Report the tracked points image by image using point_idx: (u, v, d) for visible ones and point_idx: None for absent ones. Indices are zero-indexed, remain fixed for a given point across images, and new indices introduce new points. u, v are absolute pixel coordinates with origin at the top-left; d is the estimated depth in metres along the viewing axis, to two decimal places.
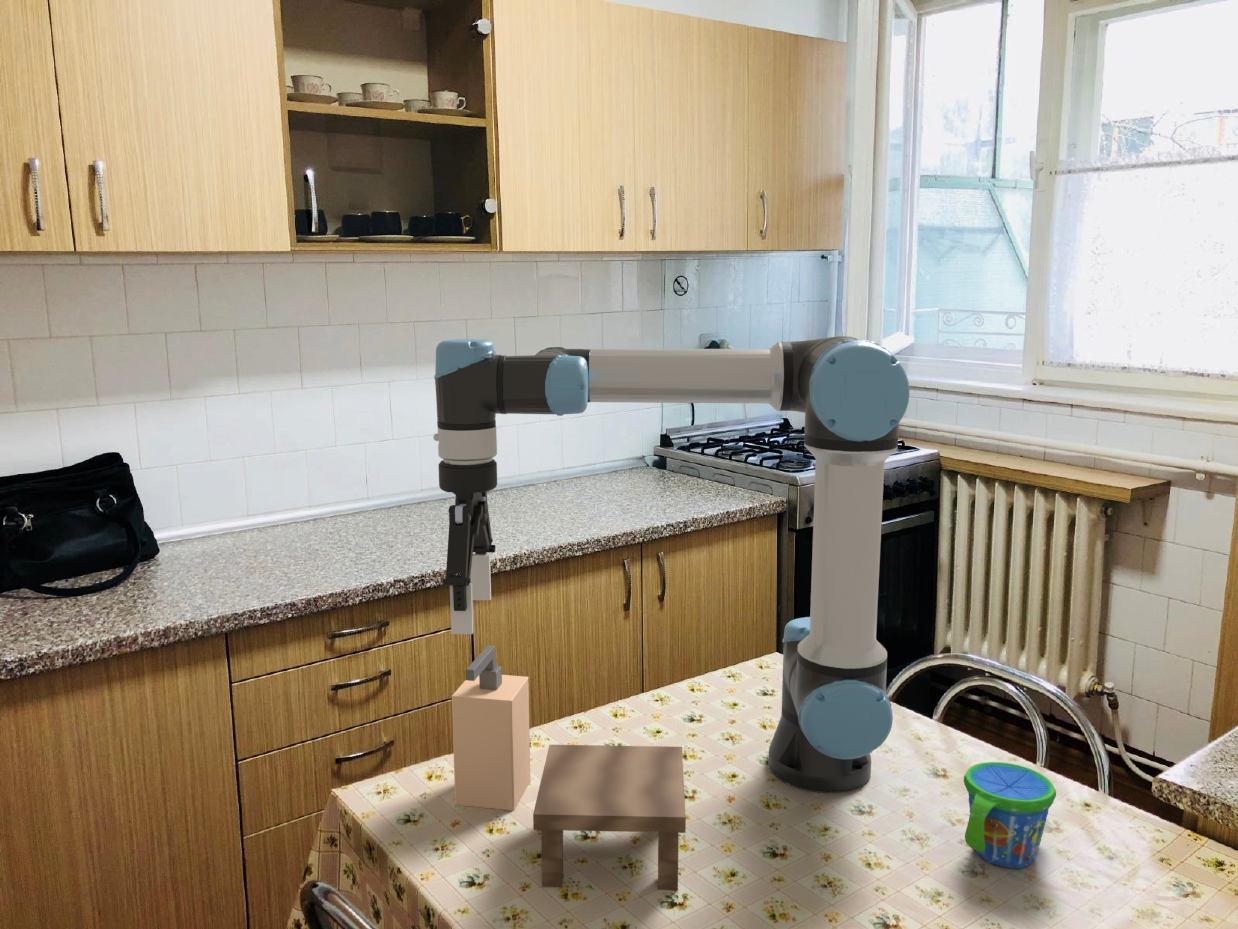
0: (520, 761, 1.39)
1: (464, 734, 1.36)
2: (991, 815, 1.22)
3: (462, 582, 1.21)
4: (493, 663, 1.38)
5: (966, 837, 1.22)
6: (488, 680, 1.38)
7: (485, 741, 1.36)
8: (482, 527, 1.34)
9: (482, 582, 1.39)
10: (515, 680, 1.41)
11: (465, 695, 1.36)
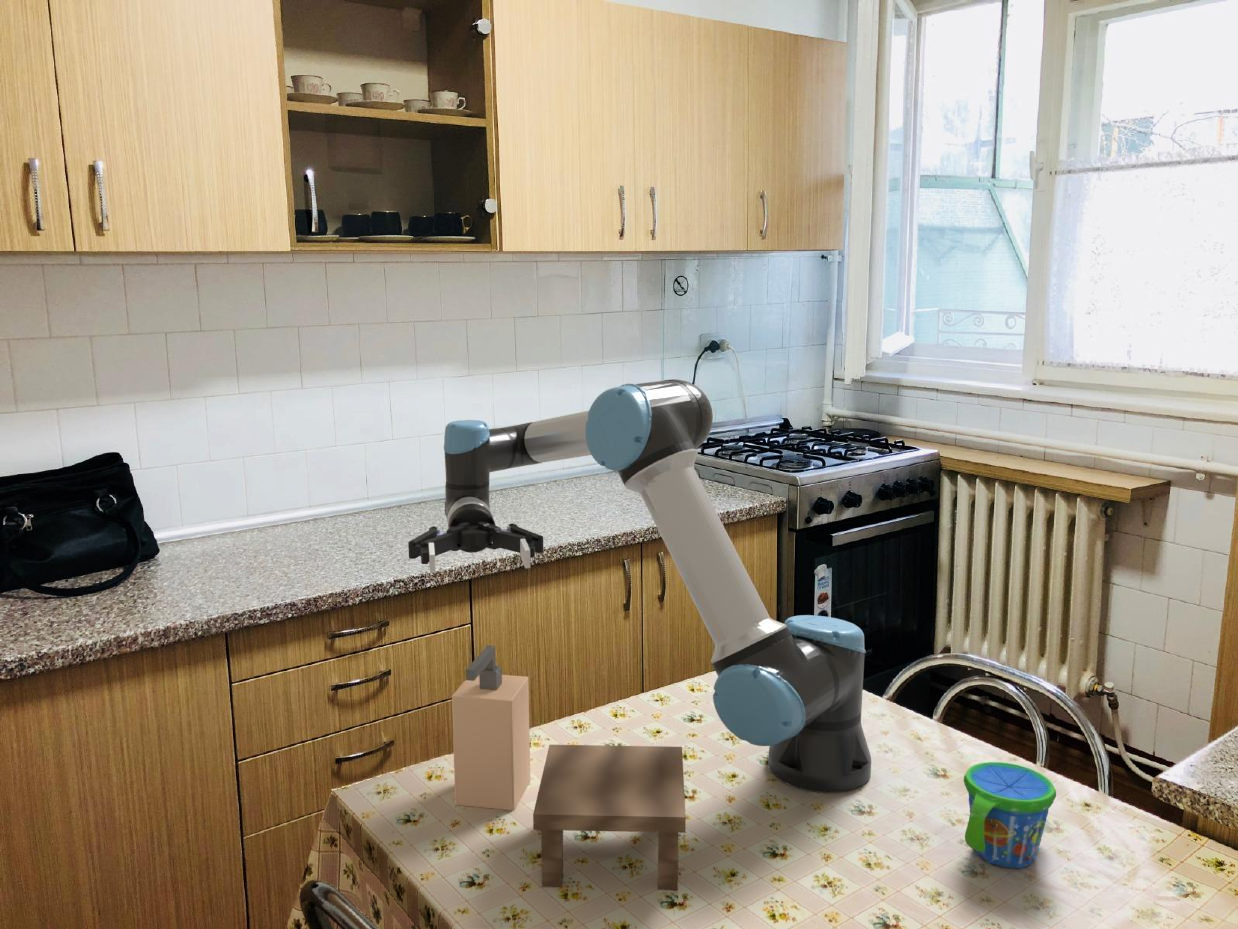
0: (520, 761, 1.39)
1: (464, 734, 1.36)
2: (991, 815, 1.22)
3: (408, 544, 1.48)
4: (493, 663, 1.38)
5: (966, 837, 1.22)
6: (488, 680, 1.38)
7: (485, 741, 1.36)
8: (498, 533, 1.54)
9: (523, 552, 1.46)
10: (515, 680, 1.41)
11: (465, 695, 1.36)
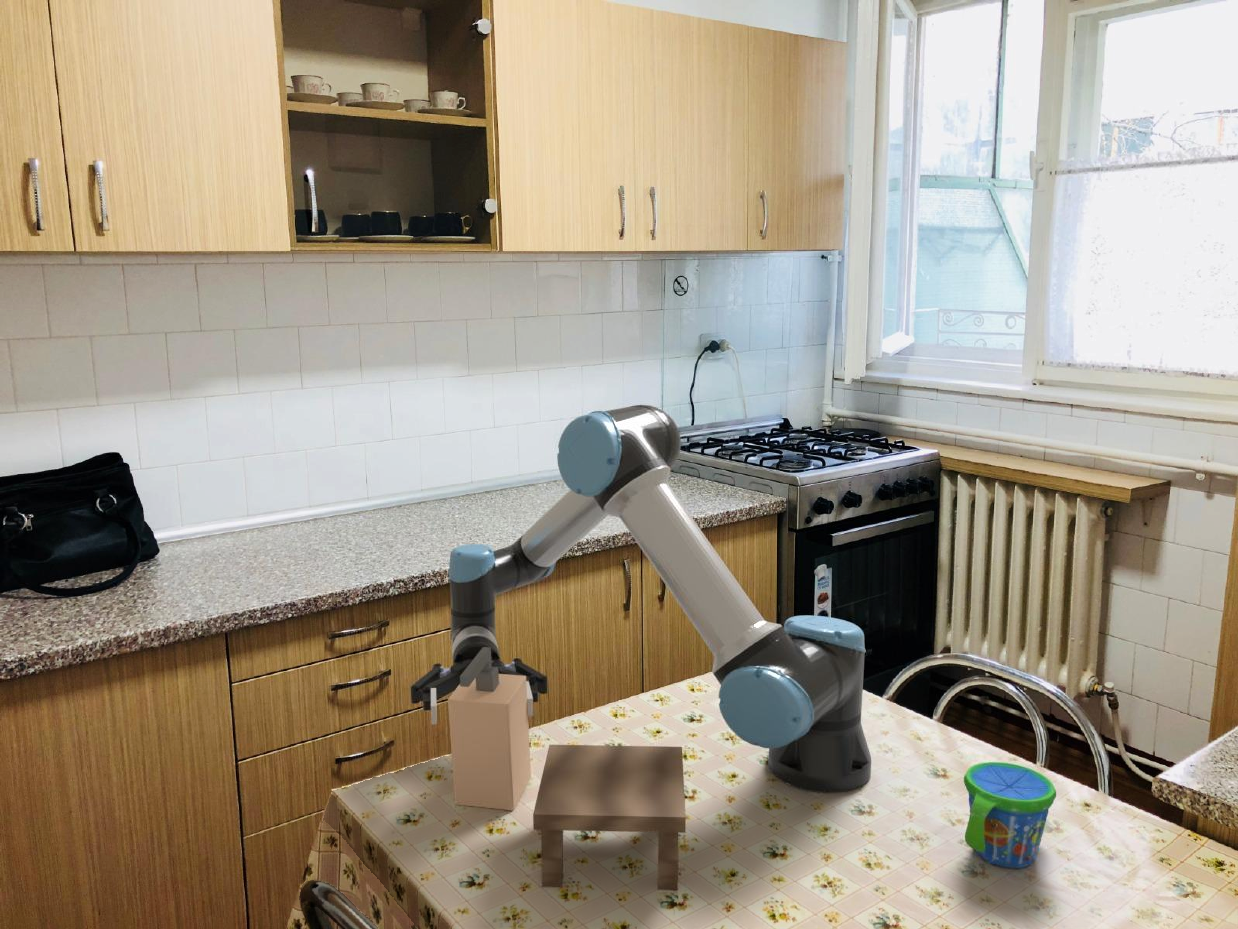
0: (519, 761, 1.39)
1: (461, 737, 1.36)
2: (991, 815, 1.22)
3: (411, 689, 1.46)
4: (489, 665, 1.37)
5: (966, 837, 1.22)
6: (484, 682, 1.36)
7: (482, 743, 1.35)
8: (501, 672, 1.52)
9: None
10: (512, 680, 1.40)
11: (461, 698, 1.35)
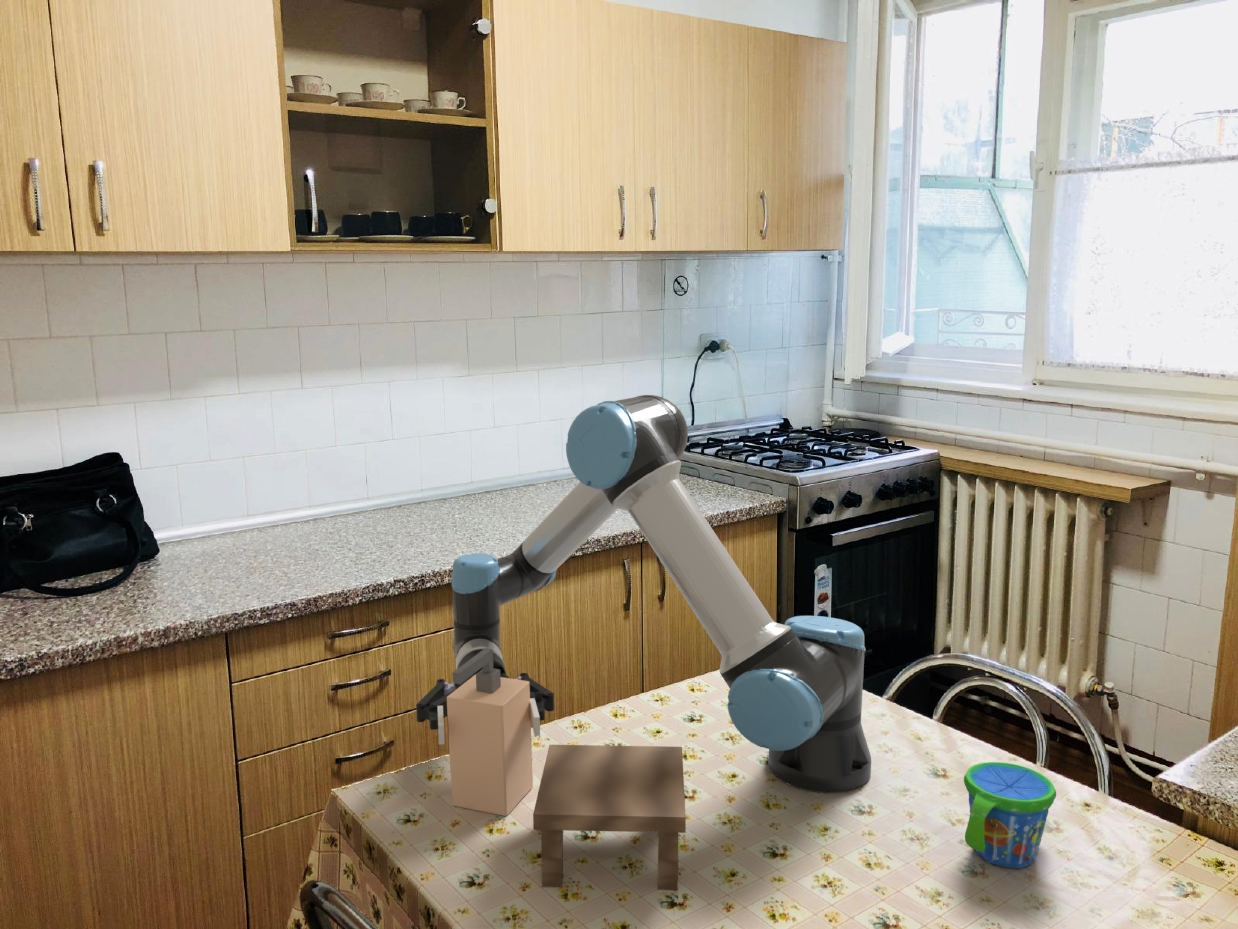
0: (516, 767, 1.38)
1: (458, 736, 1.36)
2: (991, 815, 1.22)
3: (416, 707, 1.40)
4: (490, 666, 1.37)
5: (966, 837, 1.22)
6: (484, 683, 1.36)
7: (478, 745, 1.35)
8: None
9: (532, 716, 1.38)
10: (515, 684, 1.39)
11: (459, 697, 1.35)
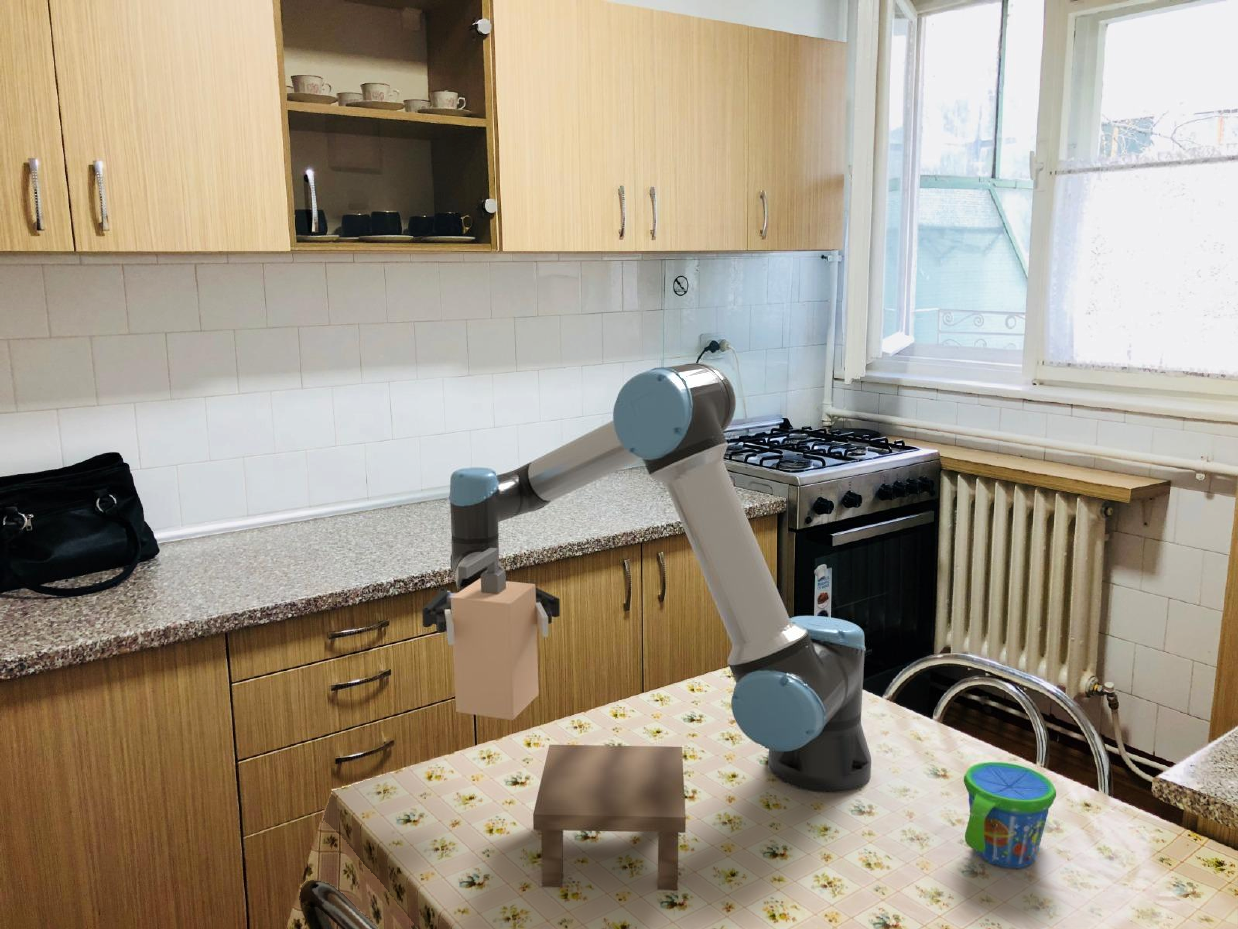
0: (522, 671, 1.33)
1: (463, 638, 1.31)
2: (991, 815, 1.22)
3: (422, 611, 1.35)
4: (495, 566, 1.32)
5: (966, 837, 1.22)
6: (489, 583, 1.32)
7: (483, 646, 1.30)
8: None
9: (539, 618, 1.34)
10: (520, 586, 1.35)
11: (464, 597, 1.31)
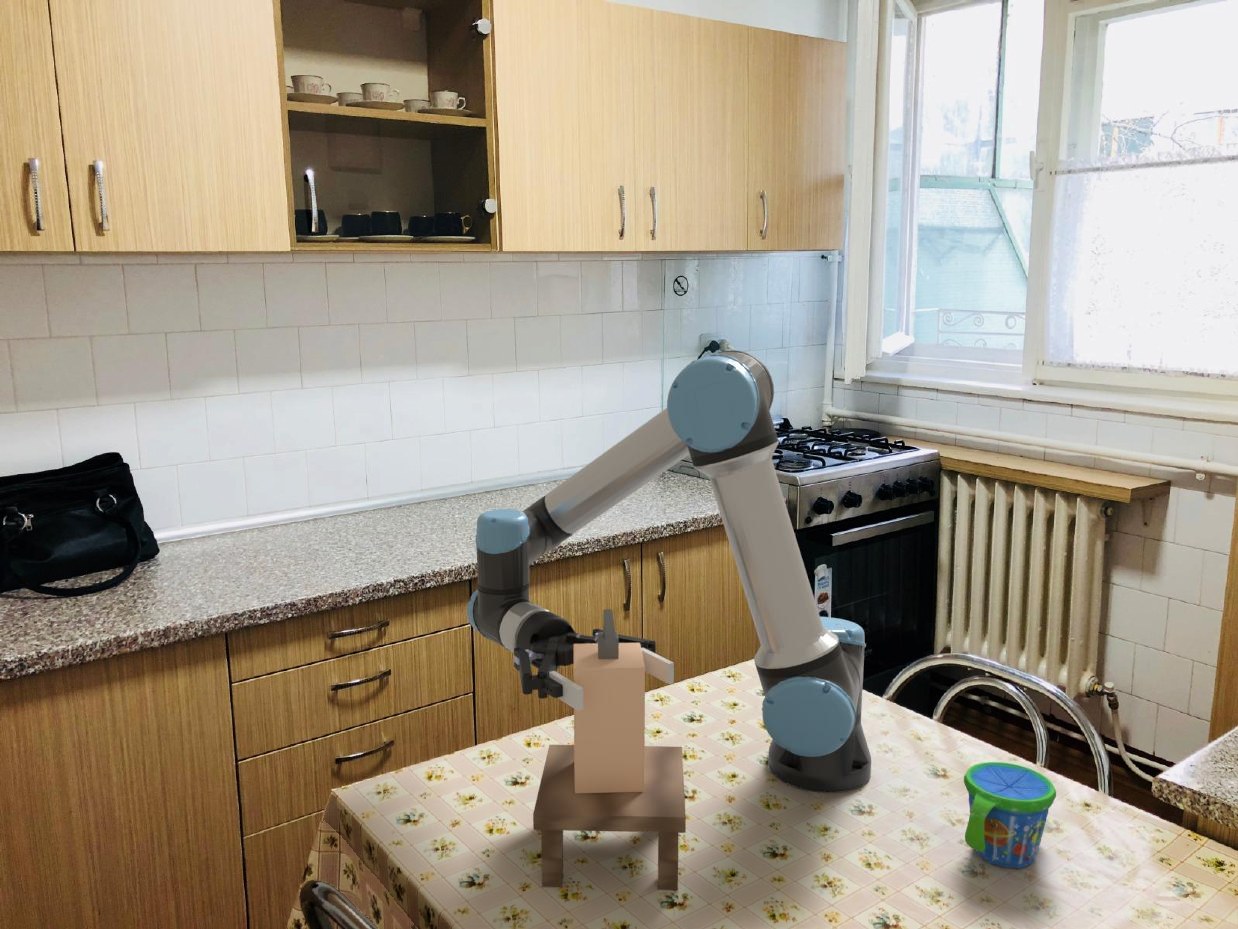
0: None
1: (588, 712, 1.20)
2: (991, 815, 1.22)
3: (523, 678, 1.21)
4: None
5: (966, 837, 1.22)
6: (609, 648, 1.22)
7: (612, 717, 1.20)
8: None
9: (656, 665, 1.26)
10: (629, 647, 1.26)
11: (588, 667, 1.20)
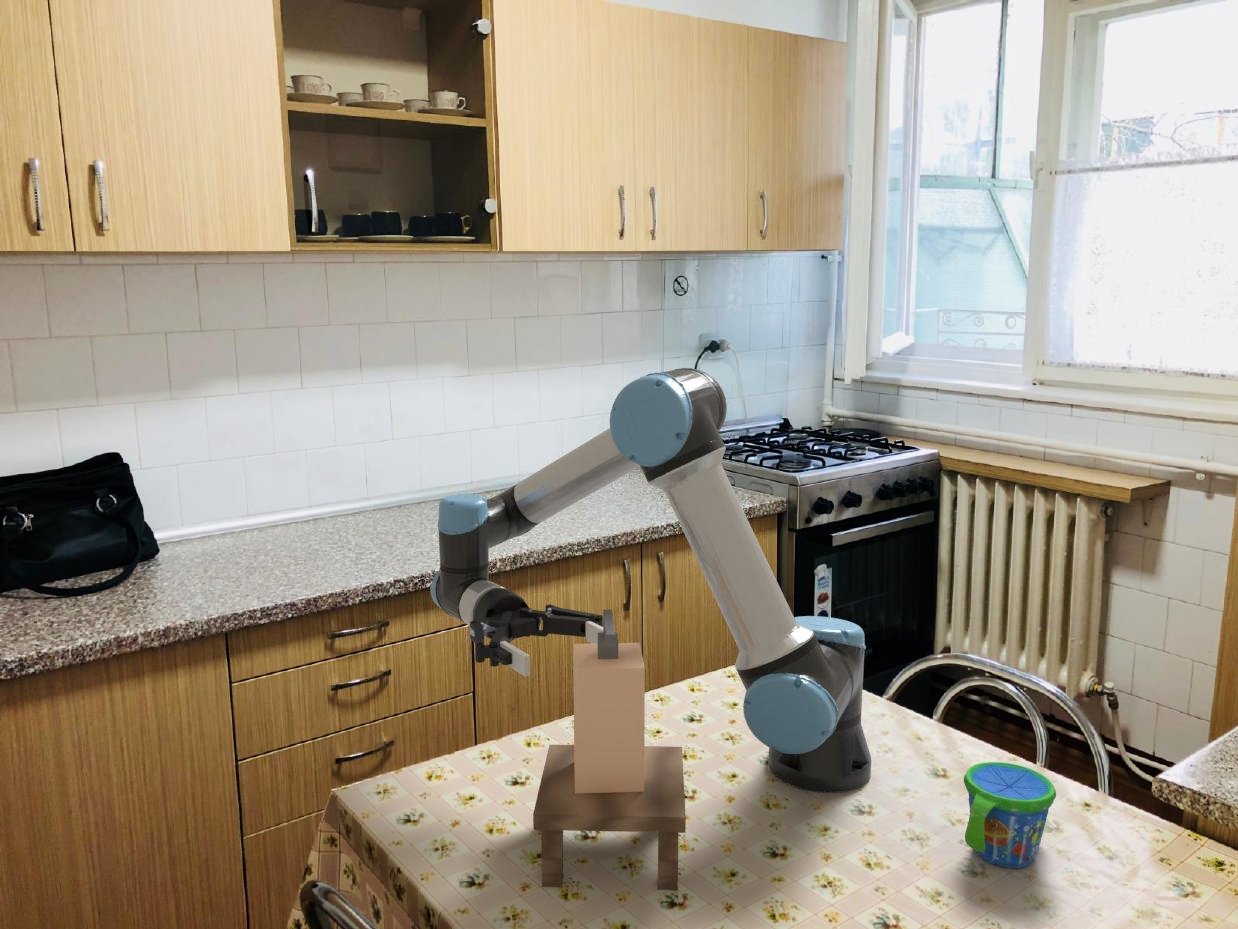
0: None
1: (588, 712, 1.20)
2: (991, 815, 1.22)
3: (476, 647, 1.31)
4: None
5: (966, 837, 1.22)
6: (608, 648, 1.22)
7: (612, 717, 1.20)
8: (550, 618, 1.41)
9: None
10: (629, 647, 1.26)
11: (588, 667, 1.20)
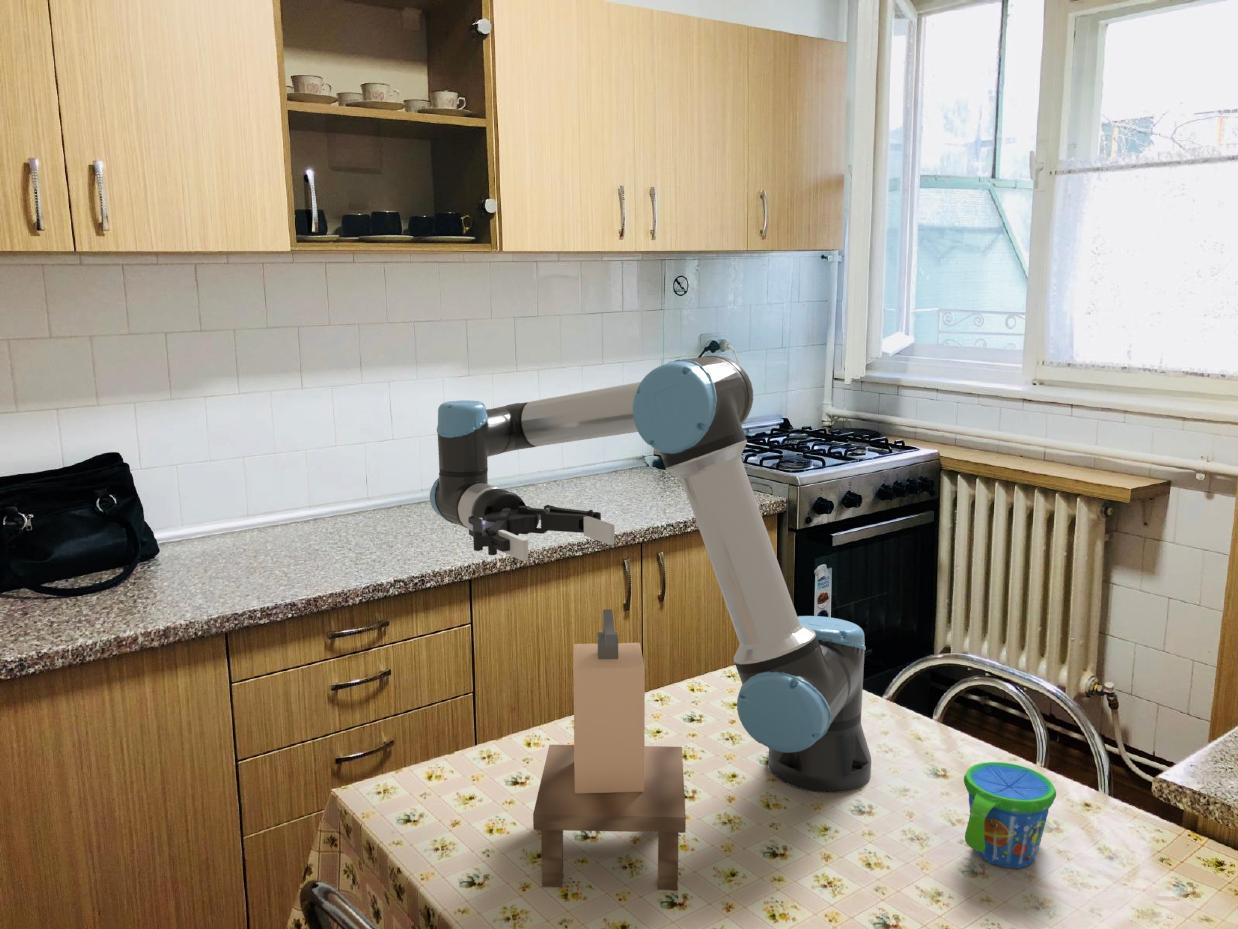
0: None
1: (588, 712, 1.20)
2: (991, 815, 1.22)
3: (474, 535, 1.31)
4: None
5: (966, 837, 1.22)
6: (608, 648, 1.22)
7: (612, 717, 1.20)
8: (548, 515, 1.42)
9: (599, 529, 1.37)
10: (629, 647, 1.26)
11: (588, 667, 1.20)
